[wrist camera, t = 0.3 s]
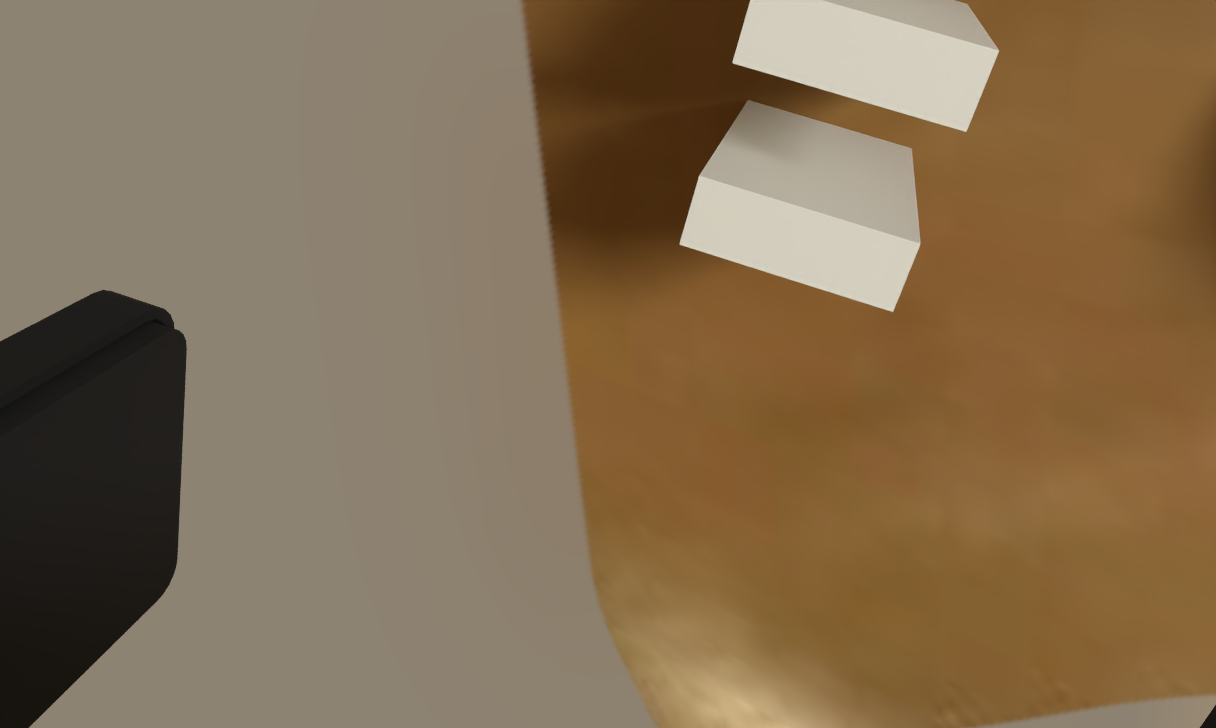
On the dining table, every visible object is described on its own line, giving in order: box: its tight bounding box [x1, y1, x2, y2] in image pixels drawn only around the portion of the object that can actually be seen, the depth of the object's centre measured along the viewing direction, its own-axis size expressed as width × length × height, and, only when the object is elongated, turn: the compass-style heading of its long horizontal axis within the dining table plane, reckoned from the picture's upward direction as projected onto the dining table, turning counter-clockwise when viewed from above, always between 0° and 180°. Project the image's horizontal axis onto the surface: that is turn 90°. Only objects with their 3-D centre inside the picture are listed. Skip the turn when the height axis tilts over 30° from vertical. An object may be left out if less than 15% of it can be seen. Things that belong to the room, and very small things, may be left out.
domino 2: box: [679, 100, 921, 312], centre depth 33 cm, size 2×6×11 cm, turn 76°
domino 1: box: [732, 0, 999, 132], centre depth 30 cm, size 2×6×11 cm, turn 76°
